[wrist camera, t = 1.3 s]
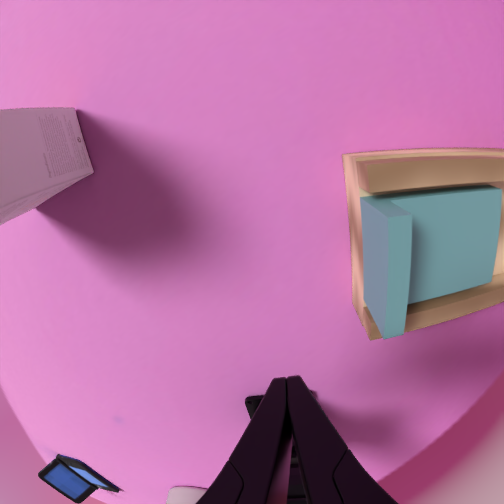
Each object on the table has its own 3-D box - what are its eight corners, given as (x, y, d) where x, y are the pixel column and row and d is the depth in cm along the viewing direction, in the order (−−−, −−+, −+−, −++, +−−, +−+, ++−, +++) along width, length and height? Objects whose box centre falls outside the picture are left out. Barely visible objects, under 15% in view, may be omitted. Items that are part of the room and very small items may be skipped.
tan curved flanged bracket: (501, 267, 19) (531, 292, 15) (352, 302, 21) (369, 342, 16) (509, 149, 15) (547, 157, 11) (341, 154, 17) (366, 160, 12)
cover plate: (480, 272, 16) (511, 299, 12) (363, 299, 17) (383, 339, 14) (488, 184, 14) (528, 199, 10) (359, 197, 15) (387, 217, 11)
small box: (77, 106, 16) (-36, 109, 6) (97, 173, 18) (-14, 215, 8) (16, 152, 17) (-77, 179, 8) (34, 209, 19) (-56, 258, 10)
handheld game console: (122, 489, 46) (113, 517, 37) (88, 480, 48) (78, 504, 39) (80, 458, 40) (66, 489, 32) (48, 449, 43) (35, 475, 34)
